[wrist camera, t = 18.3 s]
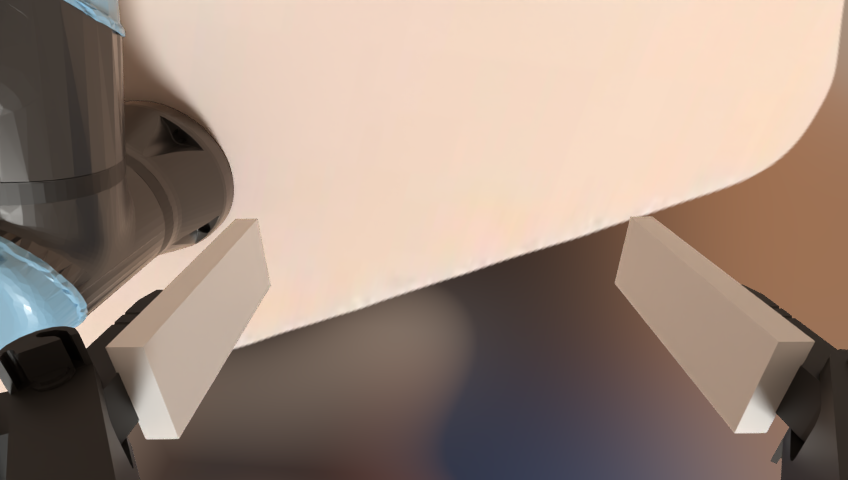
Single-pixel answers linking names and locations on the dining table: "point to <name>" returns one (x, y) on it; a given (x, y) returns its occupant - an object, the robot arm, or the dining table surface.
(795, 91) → the dining table surface
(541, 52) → the dining table surface
